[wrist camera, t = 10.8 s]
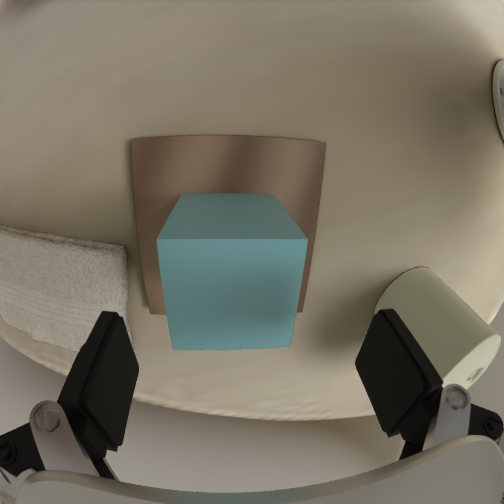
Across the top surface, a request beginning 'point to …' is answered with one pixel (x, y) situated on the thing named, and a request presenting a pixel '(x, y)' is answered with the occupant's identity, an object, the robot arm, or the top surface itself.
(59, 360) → the top surface
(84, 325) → the washcloth
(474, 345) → the can
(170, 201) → the post board
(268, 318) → the teal block
